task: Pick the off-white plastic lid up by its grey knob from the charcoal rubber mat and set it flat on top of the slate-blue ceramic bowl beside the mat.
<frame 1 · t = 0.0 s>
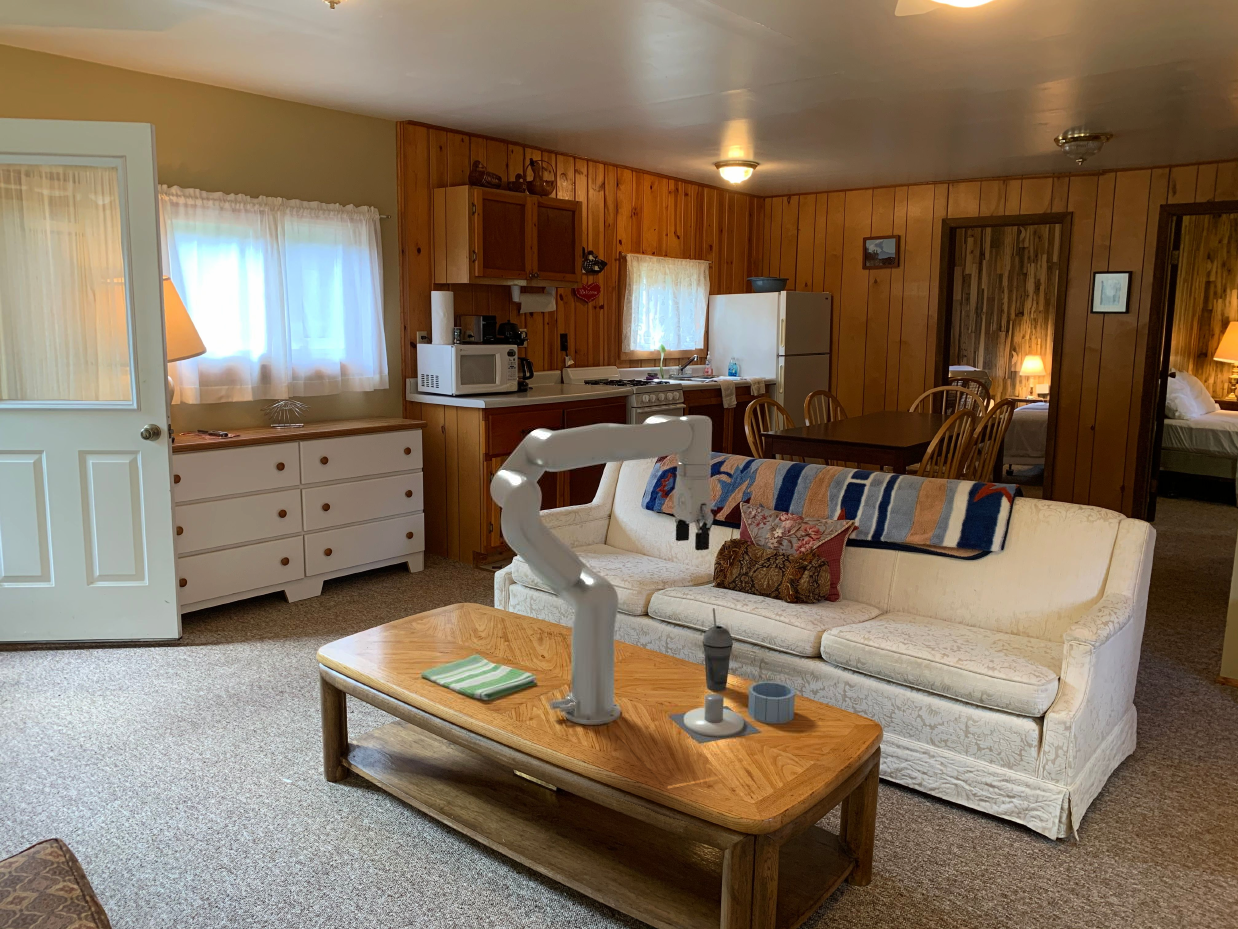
hand: (691, 545, 211), 37 cm above the table, tool pointing down, fingers open, 9 cm apart
bowl: (770, 715, 208), on the table
lid: (713, 723, 202), resting on mat
beverage cup: (716, 690, 223), on the table
mat: (713, 725, 202), on the table
dish towel: (479, 682, 226), on the table
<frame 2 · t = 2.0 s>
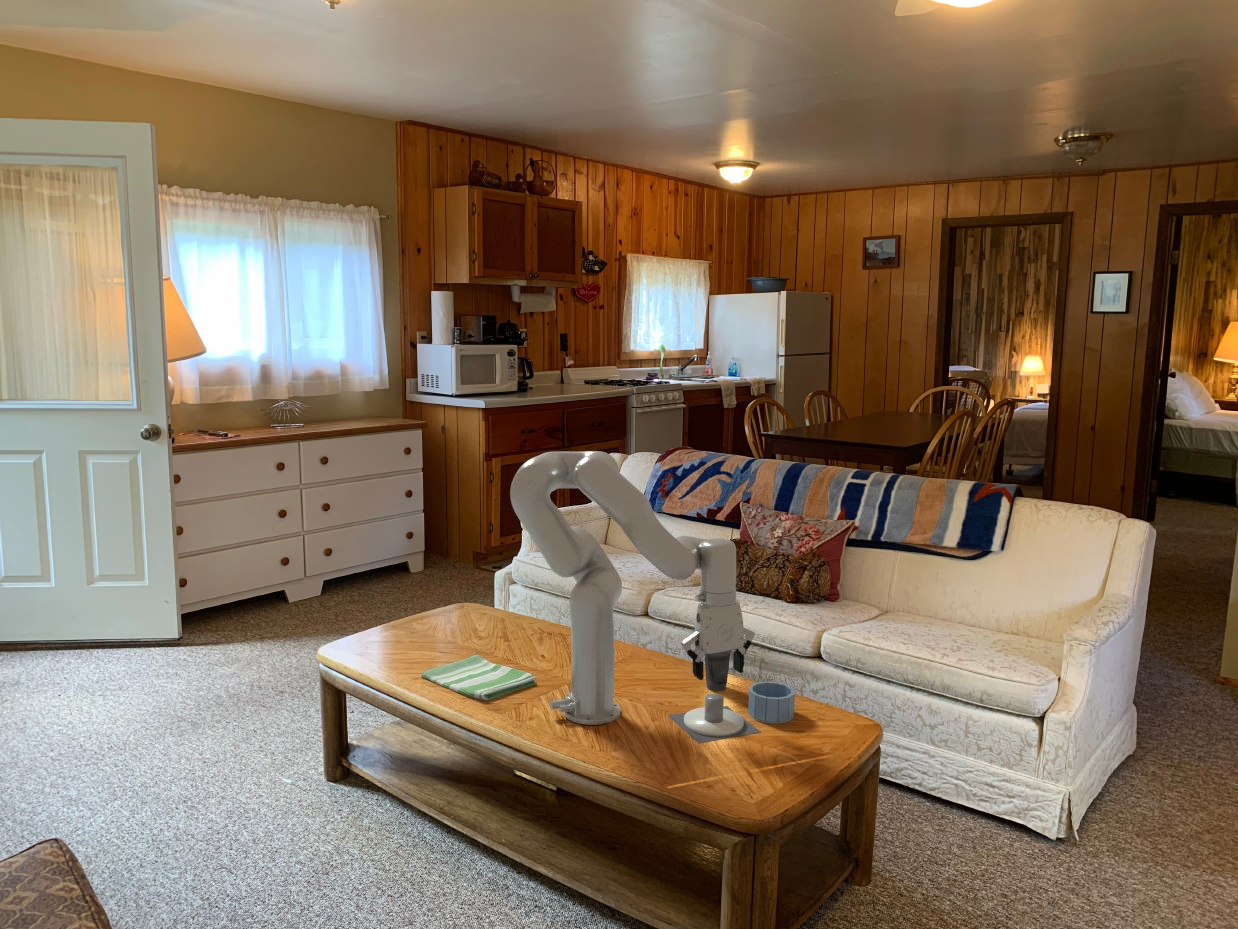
hand: (718, 674, 200), 12 cm above the table, tool pointing down, fingers open, 9 cm apart
nothing on the table moved.
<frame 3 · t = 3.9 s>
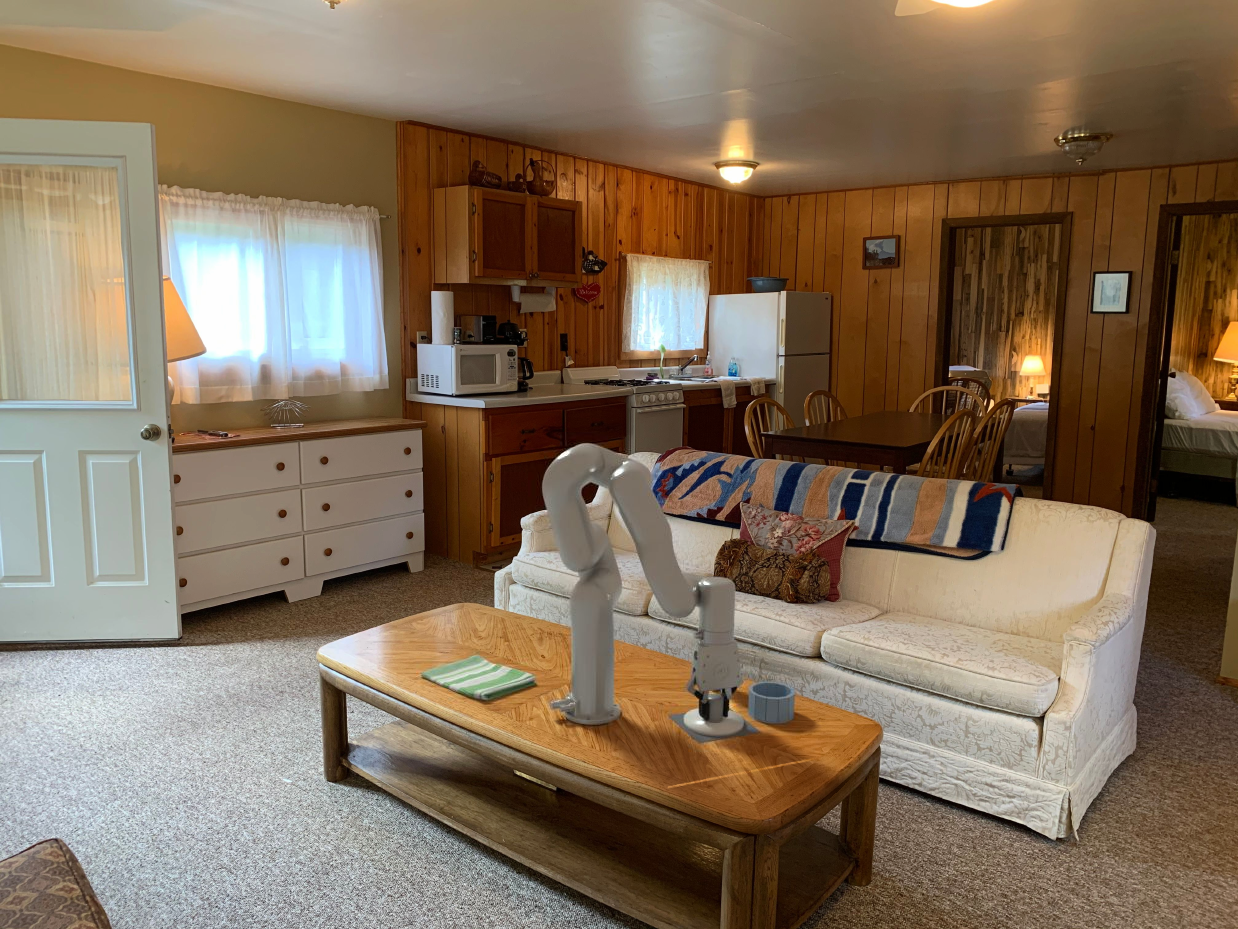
hand: (713, 715, 202), 2 cm above the table, tool pointing down, fingers closed on lid, 4 cm apart
lid: (713, 723, 202), resting on mat, touching gripper
everything else where it was.
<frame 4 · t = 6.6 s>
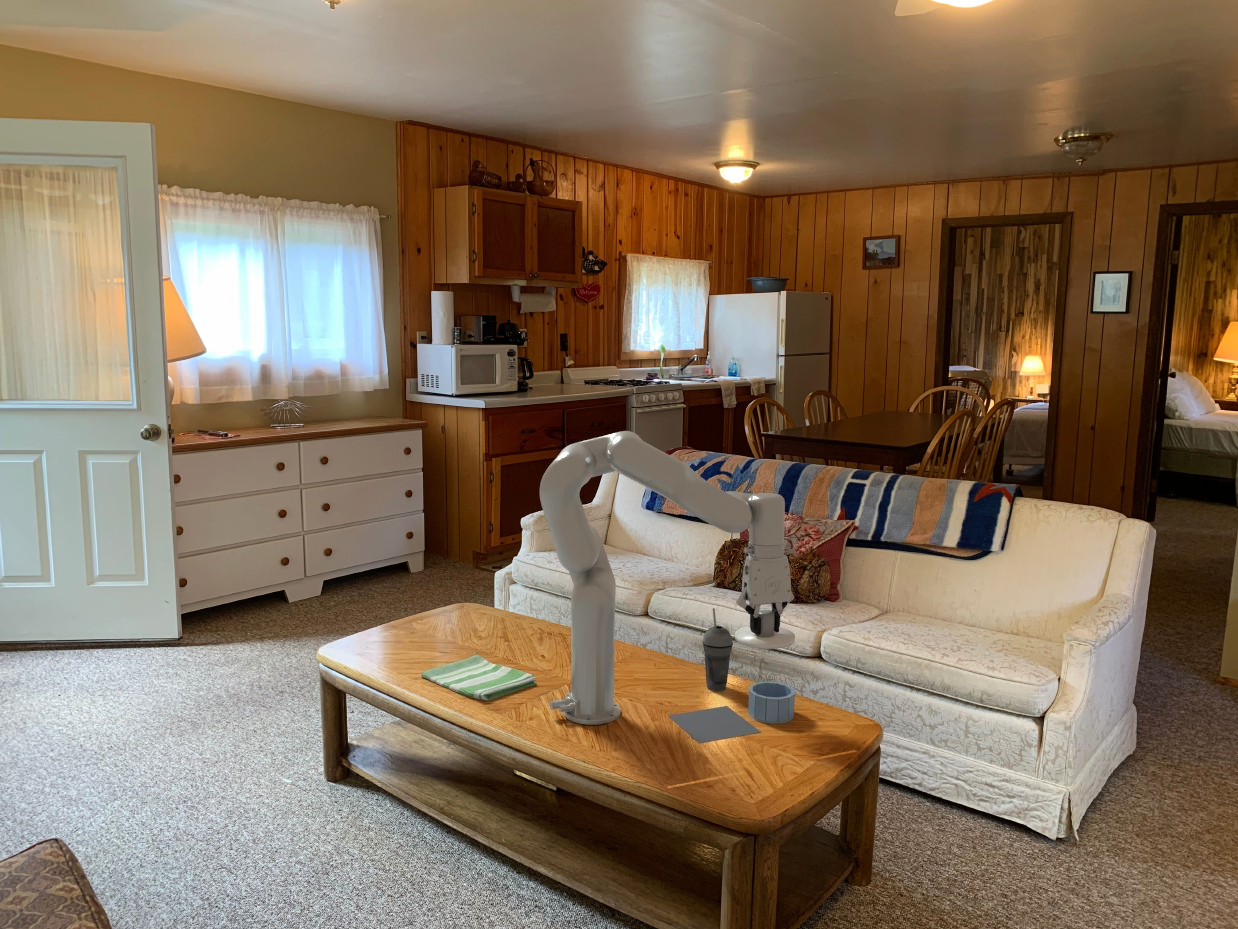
hand: (764, 631, 204), 20 cm above the table, tool pointing down, fingers closed on lid, 4 cm apart
lid: (764, 638, 204), point 18 cm above the table, touching gripper
everything else where it was.
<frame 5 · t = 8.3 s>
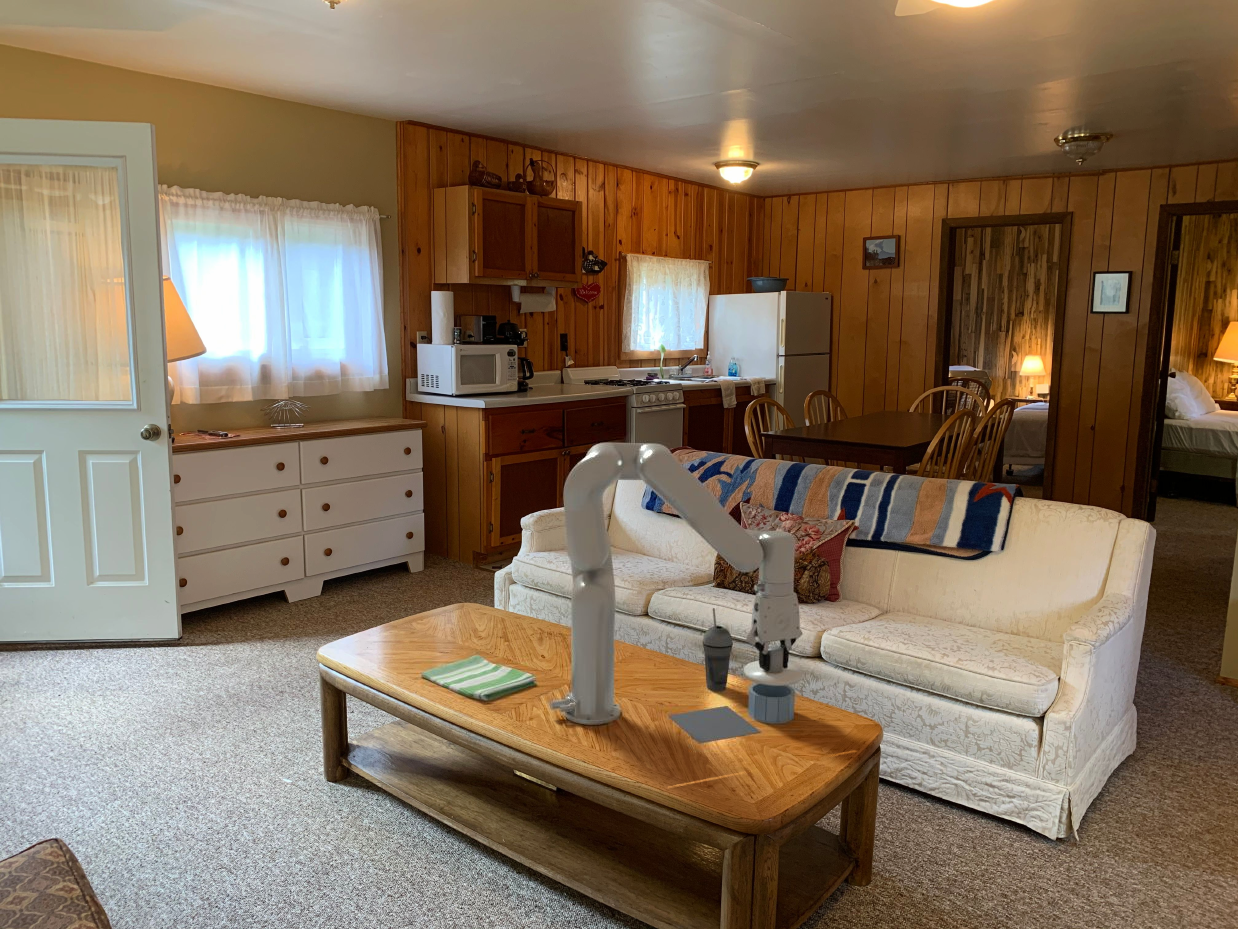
hand: (773, 667, 206), 11 cm above the table, tool pointing down, fingers closed on lid, 4 cm apart
lid: (773, 674, 206), point 10 cm above the table, touching gripper
everything else where it was.
when the fingers open (9 cm above the table, at t = 9.5 s): lid stays where it is, resting on bowl.
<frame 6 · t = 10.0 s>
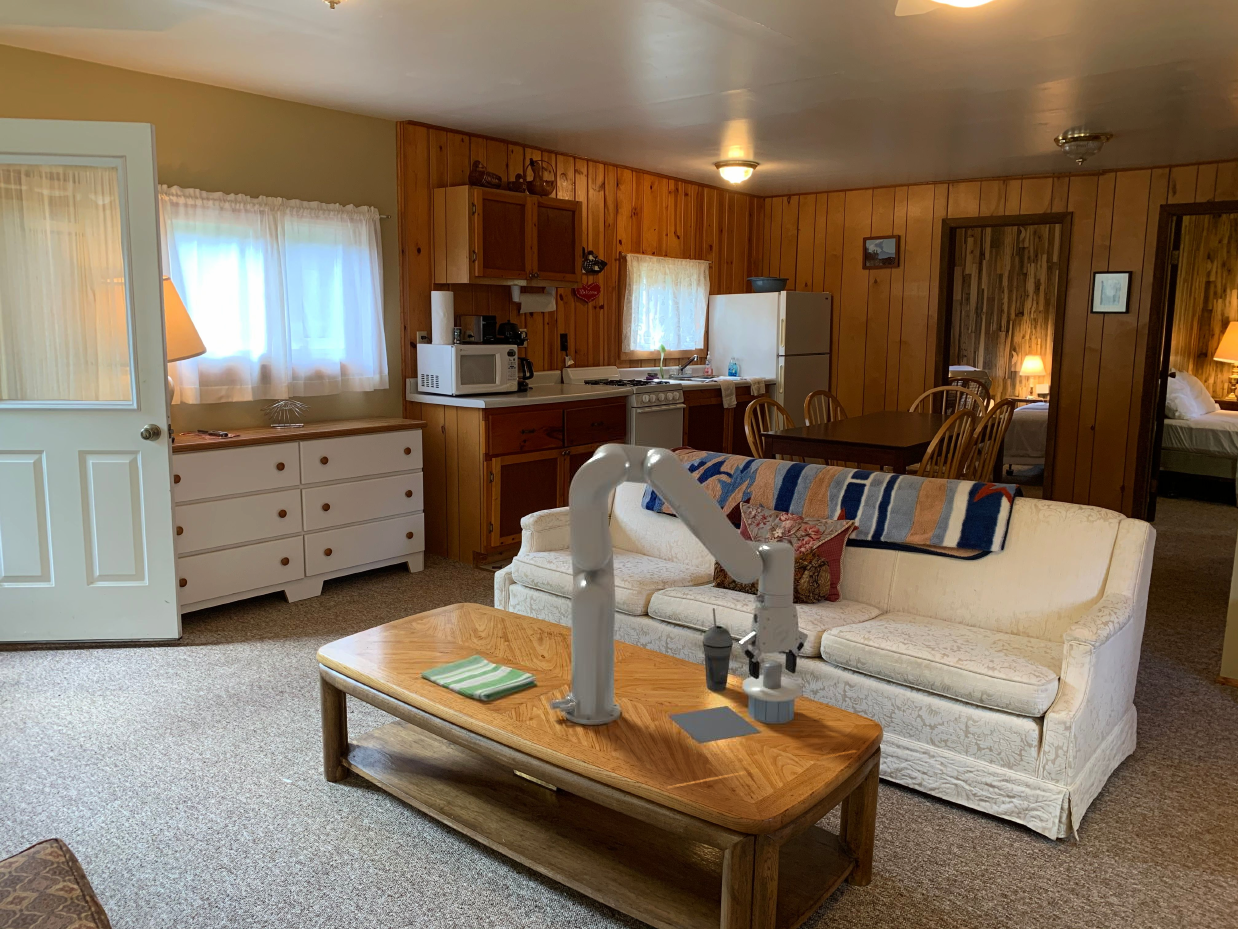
hand: (772, 674, 206), 10 cm above the table, tool pointing down, fingers open, 9 cm apart
lid: (771, 690, 207), point 6 cm above the table, touching bowl
everything else where it was.
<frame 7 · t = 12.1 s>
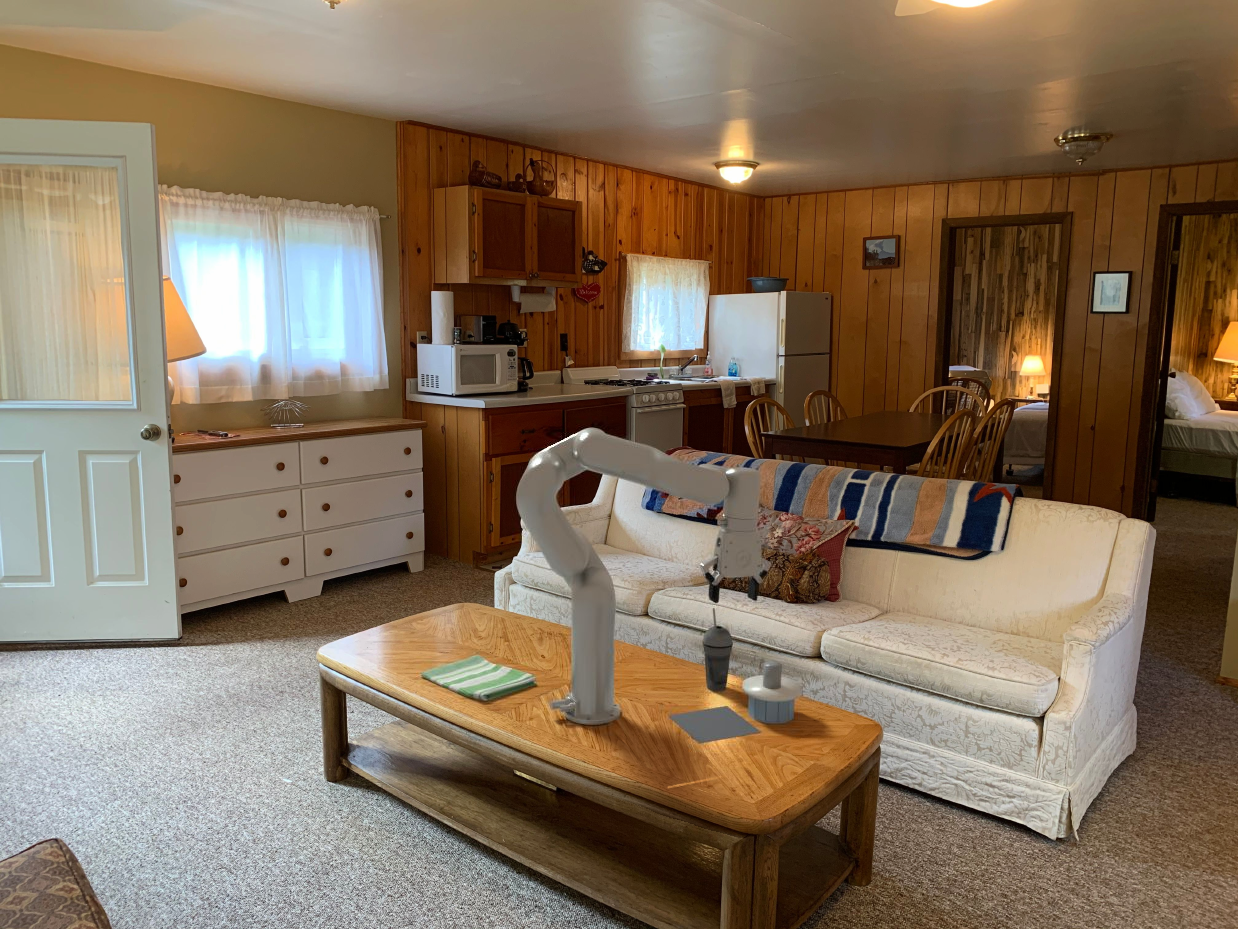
hand: (733, 600, 205), 26 cm above the table, tool pointing down, fingers open, 9 cm apart
nothing on the table moved.
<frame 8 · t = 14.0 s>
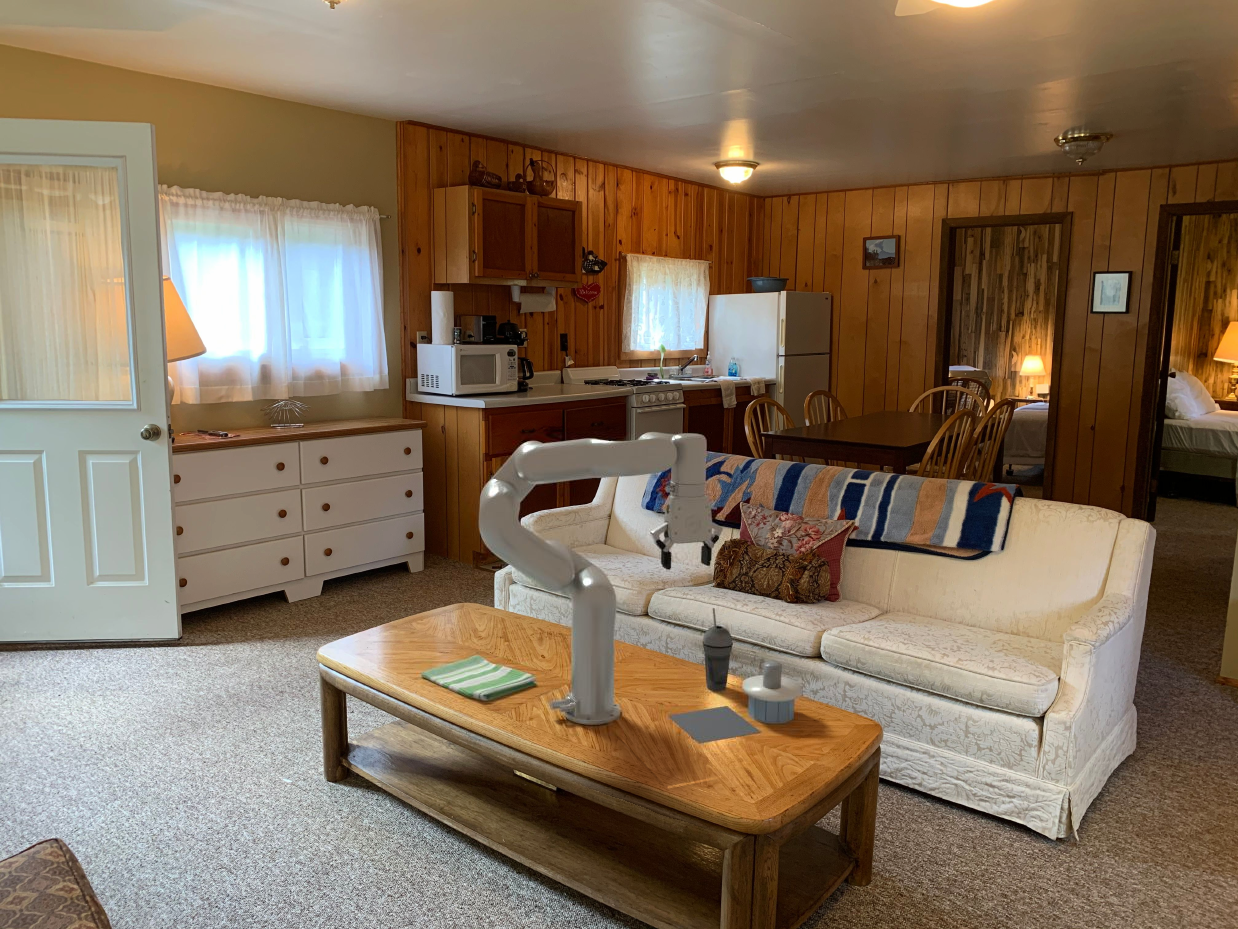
hand: (686, 566, 206), 33 cm above the table, tool pointing down, fingers open, 9 cm apart
nothing on the table moved.
at the end: lid 0.0 cm off-centre on the bowl, point 6.0 cm above the bowl's base; lid tilted 0°; the gripper is holding nothing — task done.
